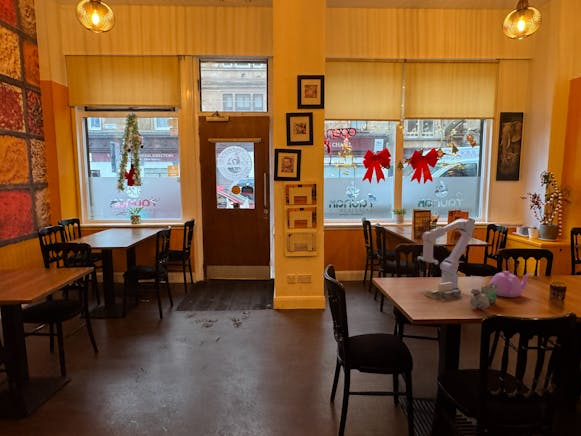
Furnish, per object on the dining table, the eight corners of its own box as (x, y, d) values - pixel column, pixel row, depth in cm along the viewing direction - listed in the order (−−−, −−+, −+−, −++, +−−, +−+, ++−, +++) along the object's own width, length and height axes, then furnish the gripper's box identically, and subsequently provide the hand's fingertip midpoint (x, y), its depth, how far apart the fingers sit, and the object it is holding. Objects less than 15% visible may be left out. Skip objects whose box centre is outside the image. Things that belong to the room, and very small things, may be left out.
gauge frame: (441, 290, 231) (441, 284, 230) (461, 297, 218) (461, 290, 217) (422, 293, 223) (422, 287, 223) (442, 301, 211) (442, 294, 210)
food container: (491, 307, 201) (493, 289, 200) (479, 304, 206) (481, 286, 205) (501, 303, 209) (503, 285, 208) (490, 300, 214) (491, 282, 212)
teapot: (537, 302, 211) (539, 277, 210) (494, 299, 216) (496, 275, 214) (522, 290, 233) (523, 268, 231) (483, 288, 237) (485, 266, 235)
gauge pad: (449, 293, 223) (450, 281, 222) (451, 293, 221) (452, 282, 221) (432, 296, 216) (432, 284, 216) (434, 297, 215) (435, 285, 214)
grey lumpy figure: (492, 314, 190) (493, 290, 191) (471, 312, 192) (472, 288, 193) (487, 311, 200) (488, 288, 200) (467, 309, 202) (468, 286, 203)
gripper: (414, 250, 236) (413, 271, 238) (432, 254, 224) (431, 277, 225) (422, 249, 240) (421, 270, 241) (441, 253, 227) (440, 275, 228)
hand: (427, 273), depth 233 cm, fingers open, 7 cm apart
